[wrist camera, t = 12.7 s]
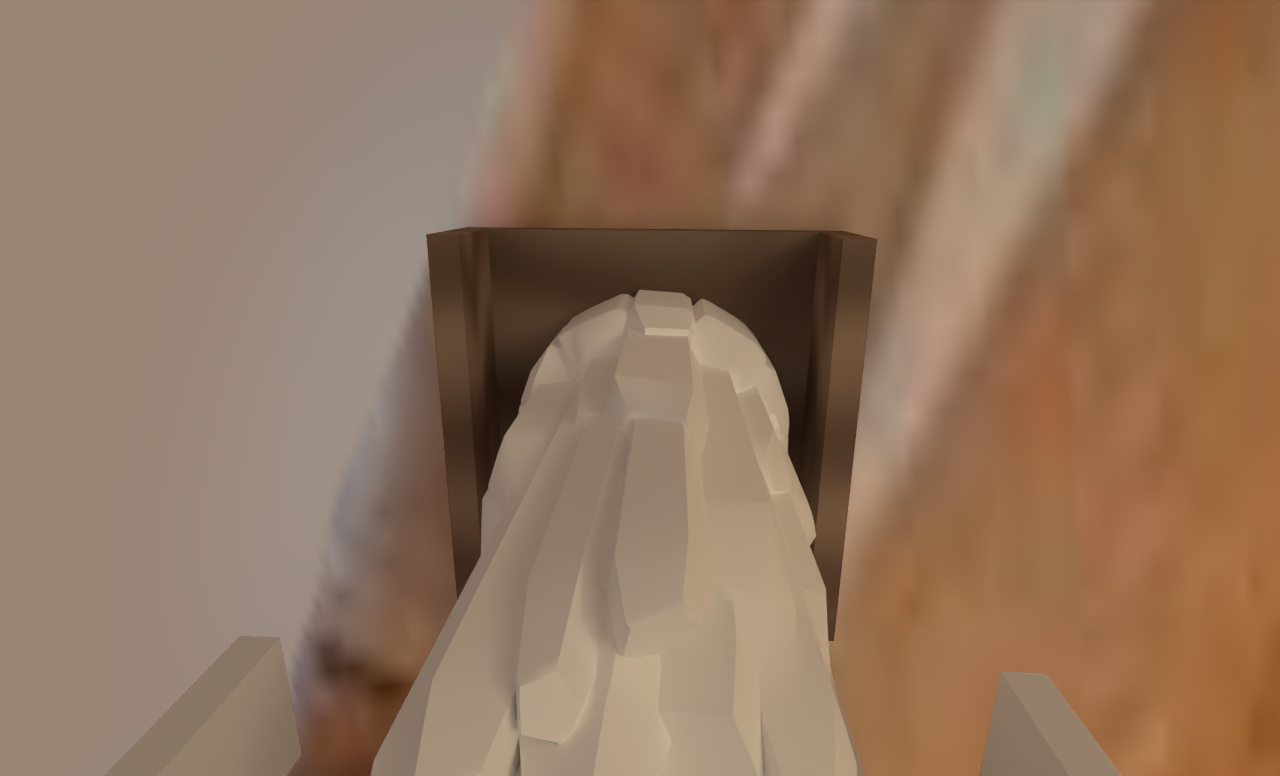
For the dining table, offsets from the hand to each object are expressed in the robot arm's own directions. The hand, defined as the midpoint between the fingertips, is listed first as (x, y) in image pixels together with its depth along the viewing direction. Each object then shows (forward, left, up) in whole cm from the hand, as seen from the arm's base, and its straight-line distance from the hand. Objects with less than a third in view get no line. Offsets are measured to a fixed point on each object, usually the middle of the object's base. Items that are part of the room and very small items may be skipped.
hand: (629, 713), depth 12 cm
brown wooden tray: (+1, 0, -20) cm, 20 cm away
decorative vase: (0, 0, -19) cm, 19 cm away
